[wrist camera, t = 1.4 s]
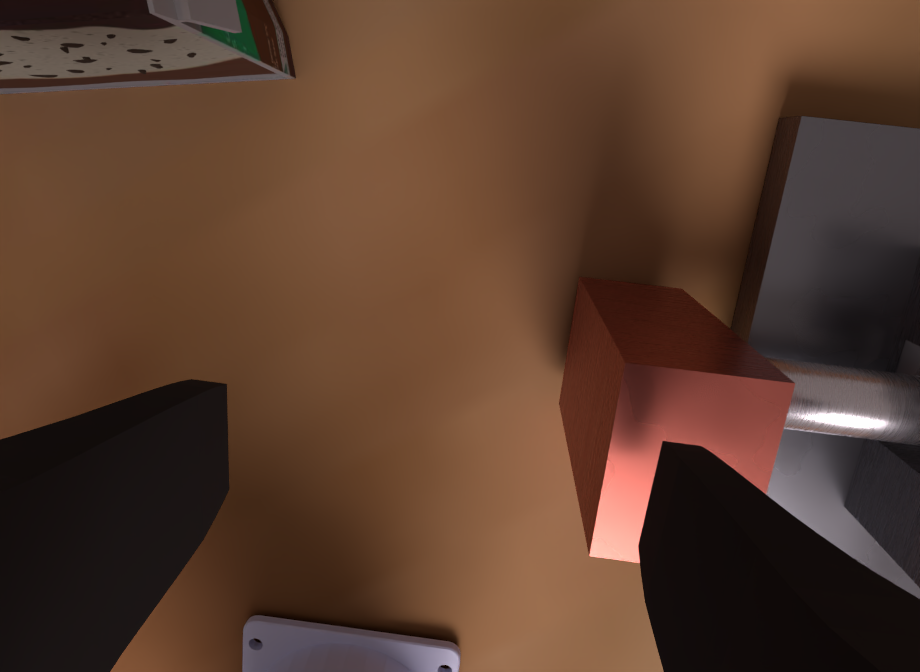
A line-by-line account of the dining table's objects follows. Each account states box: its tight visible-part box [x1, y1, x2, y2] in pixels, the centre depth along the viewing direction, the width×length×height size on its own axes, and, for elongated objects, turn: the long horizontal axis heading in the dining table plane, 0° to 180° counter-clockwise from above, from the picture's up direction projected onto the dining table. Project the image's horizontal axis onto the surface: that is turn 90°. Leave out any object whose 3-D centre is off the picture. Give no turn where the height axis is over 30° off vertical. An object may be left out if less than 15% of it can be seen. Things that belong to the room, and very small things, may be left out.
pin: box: [559, 277, 920, 563], centre depth 16 cm, size 14×4×8 cm, turn 84°
